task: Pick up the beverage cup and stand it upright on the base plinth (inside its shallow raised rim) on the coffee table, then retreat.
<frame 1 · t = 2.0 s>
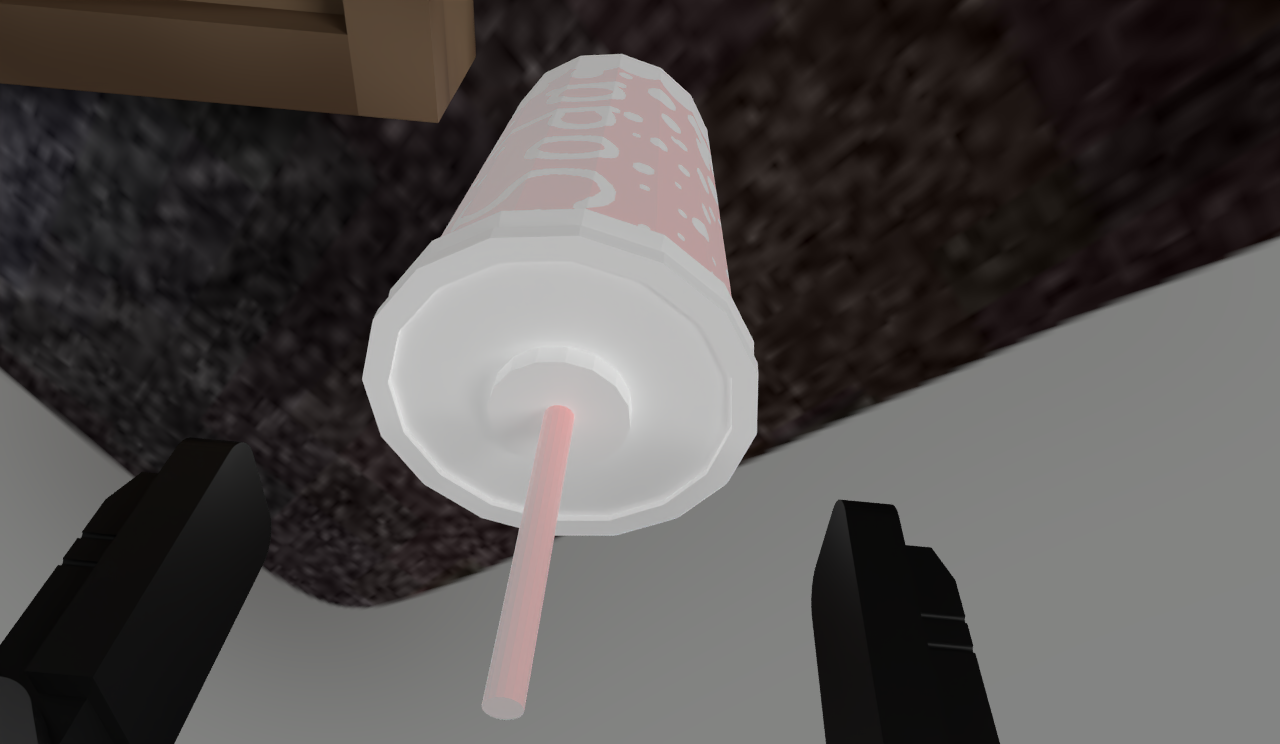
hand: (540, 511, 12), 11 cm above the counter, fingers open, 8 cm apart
beverage cup: (610, 148, 21), on the counter
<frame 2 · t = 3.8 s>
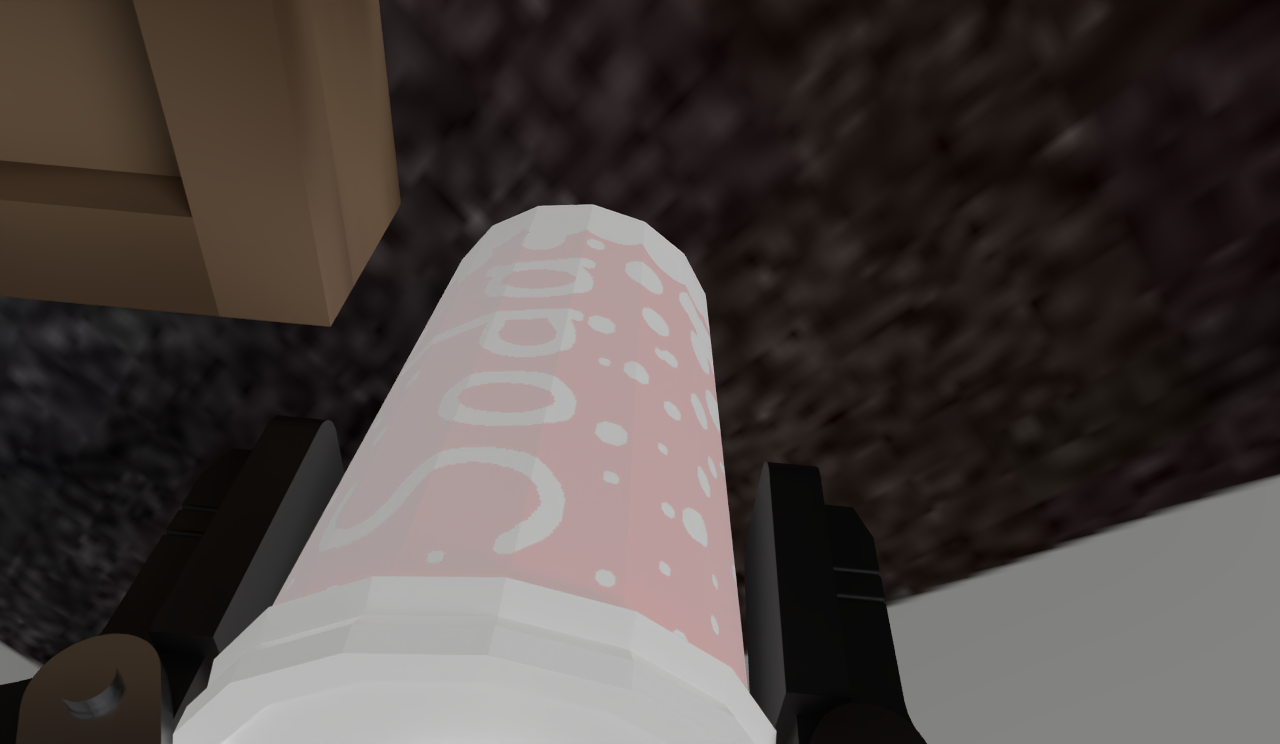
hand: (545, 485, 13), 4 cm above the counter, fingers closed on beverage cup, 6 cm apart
beverage cup: (581, 312, 16), on the counter, touching gripper
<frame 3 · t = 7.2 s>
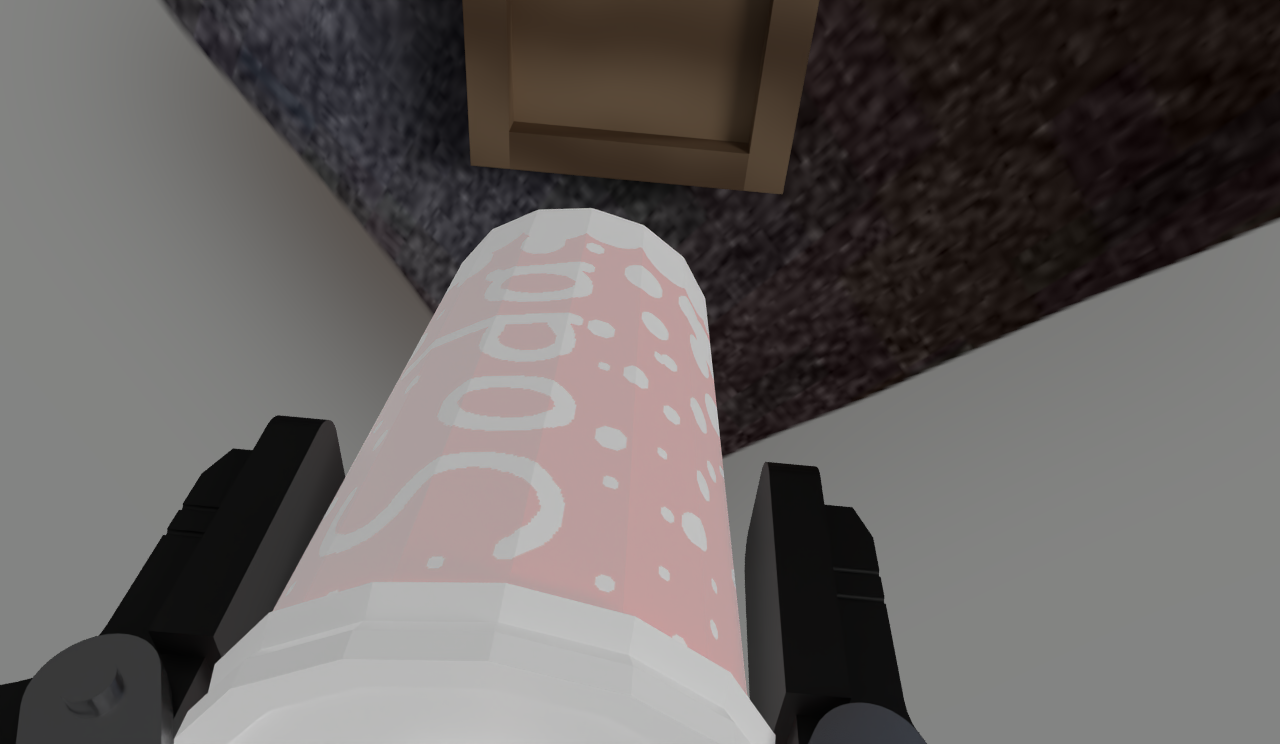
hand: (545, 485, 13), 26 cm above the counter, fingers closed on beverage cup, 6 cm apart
beverage cup: (580, 315, 16), point 21 cm above the counter, touching gripper
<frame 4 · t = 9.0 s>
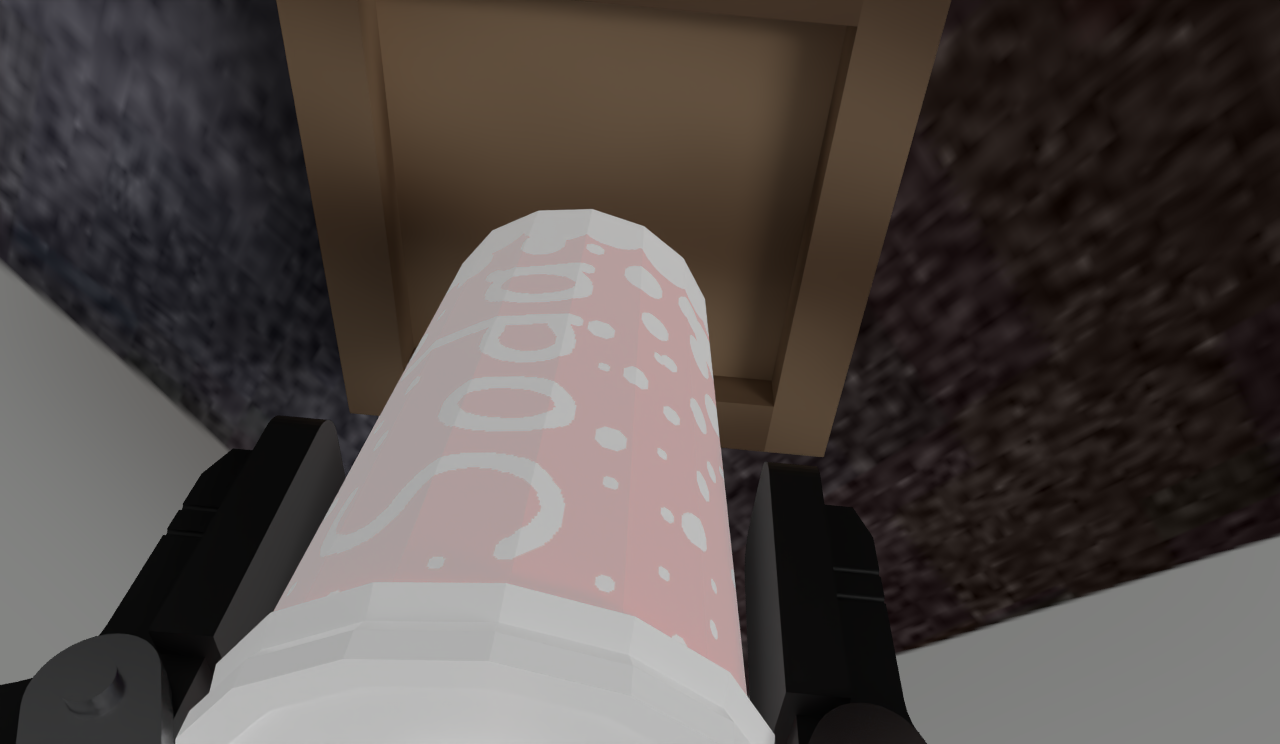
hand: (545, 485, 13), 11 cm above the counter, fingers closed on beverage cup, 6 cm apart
base plinth: (610, 153, 21), on the counter
beverage cup: (580, 315, 16), point 7 cm above the counter, touching gripper
when the fingers open (7 cm above the counter, at t = 10.7 s): beverage cup stays where it is, resting on base plinth.
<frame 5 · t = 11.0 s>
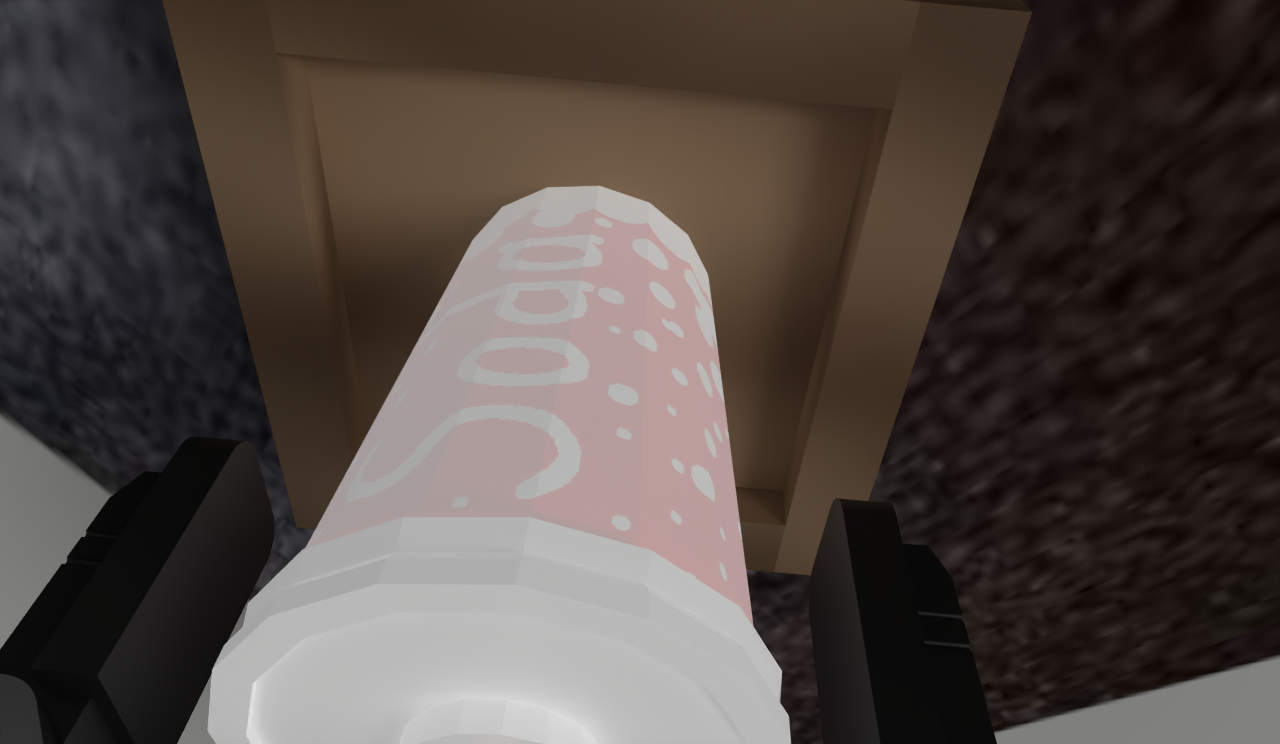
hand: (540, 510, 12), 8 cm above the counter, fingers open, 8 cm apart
base plinth: (595, 233, 18), on the counter
beverage cup: (587, 292, 17), point 2 cm above the counter, touching base plinth
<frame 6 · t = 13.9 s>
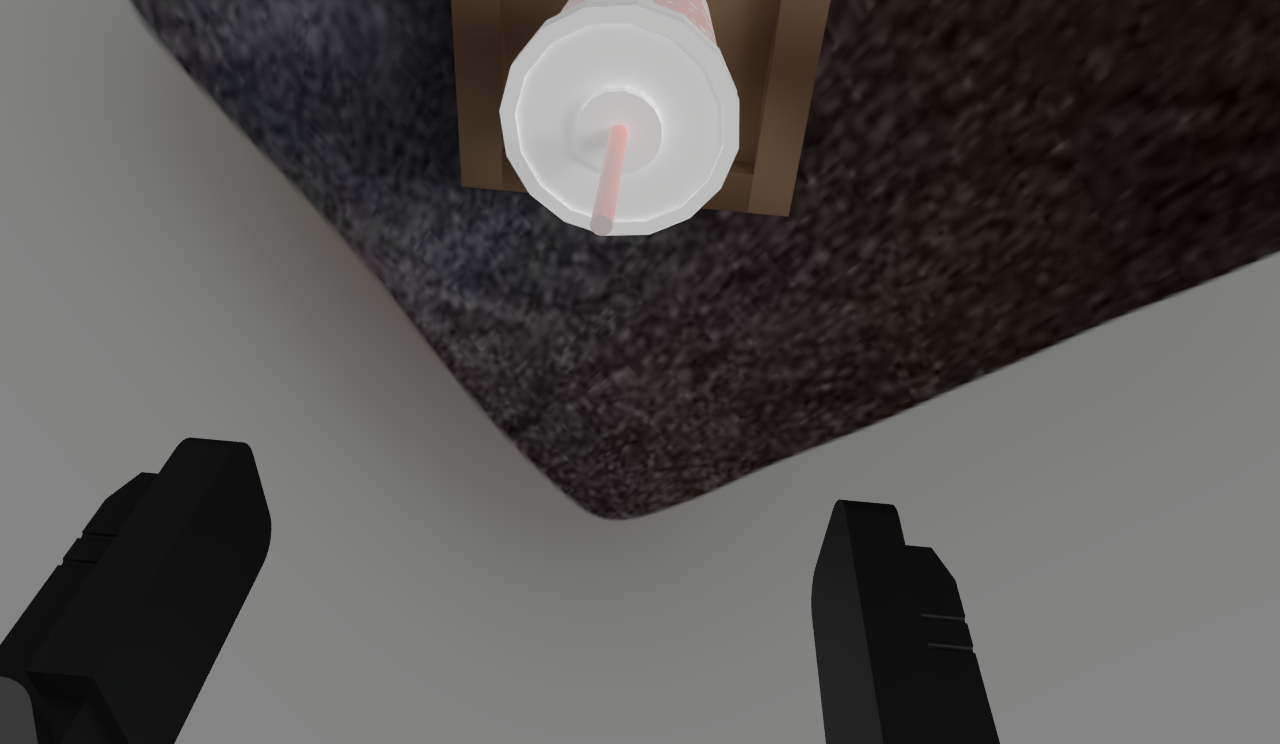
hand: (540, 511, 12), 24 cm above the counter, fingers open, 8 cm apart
base plinth: (642, 3, 31), on the counter
beverage cup: (640, 21, 30), point 2 cm above the counter, touching base plinth
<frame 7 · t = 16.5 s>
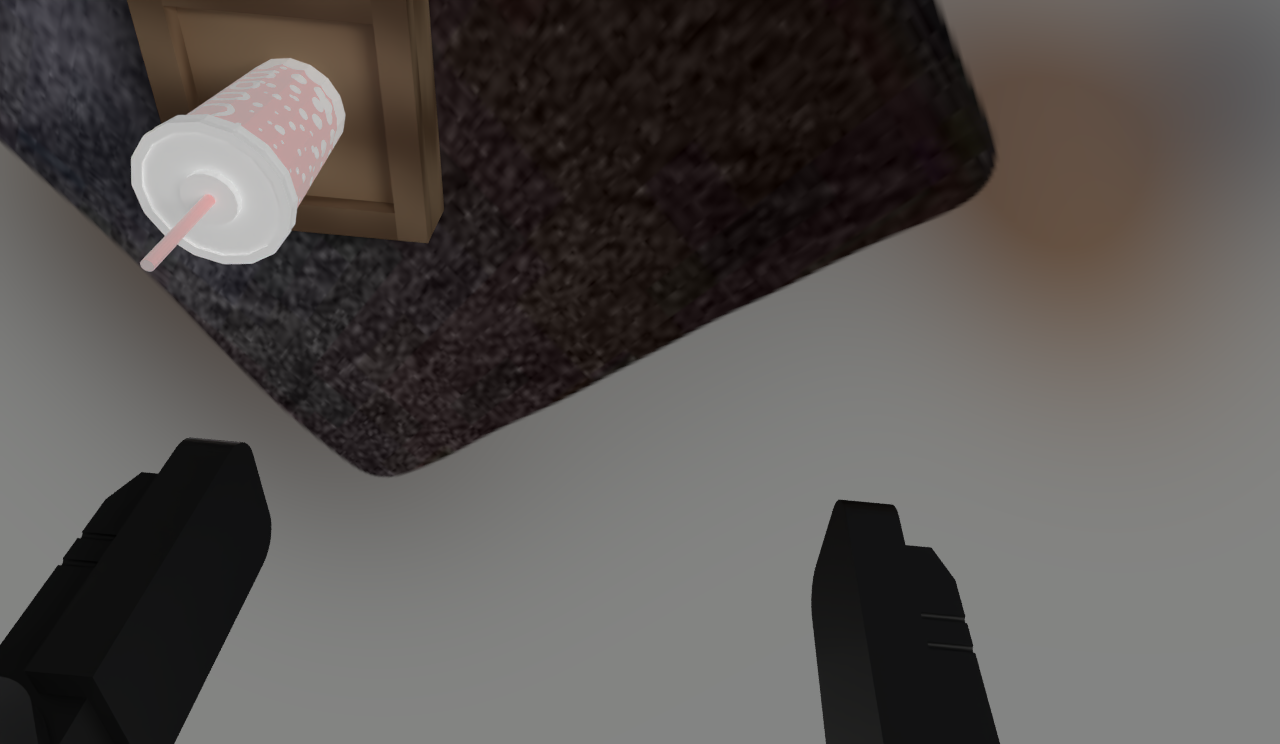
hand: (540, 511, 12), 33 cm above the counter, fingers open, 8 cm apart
base plinth: (313, 88, 43), on the counter
beverage cup: (297, 105, 41), point 2 cm above the counter, touching base plinth
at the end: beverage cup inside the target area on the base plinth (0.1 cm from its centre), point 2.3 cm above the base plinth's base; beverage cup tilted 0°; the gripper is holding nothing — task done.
